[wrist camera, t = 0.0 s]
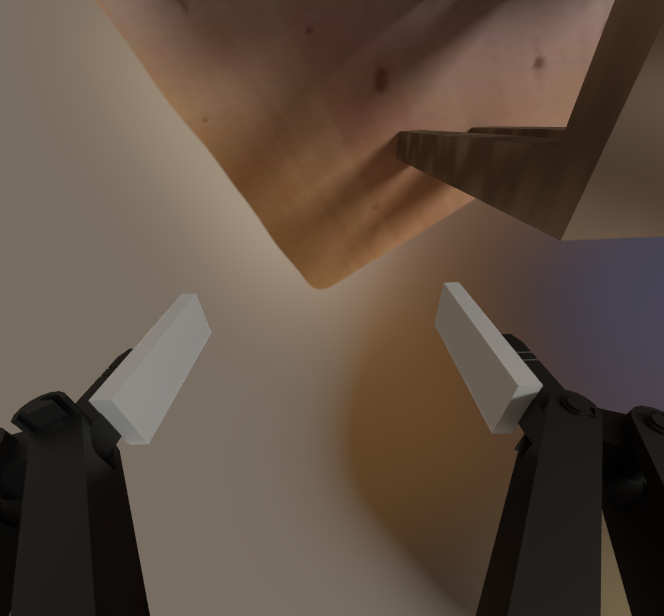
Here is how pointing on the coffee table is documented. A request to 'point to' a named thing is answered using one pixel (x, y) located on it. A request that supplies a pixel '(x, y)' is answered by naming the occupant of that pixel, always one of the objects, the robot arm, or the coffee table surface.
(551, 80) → the coffee table surface
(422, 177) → the coffee table surface
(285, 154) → the coffee table surface
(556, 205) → the walnut table
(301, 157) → the coffee table surface
